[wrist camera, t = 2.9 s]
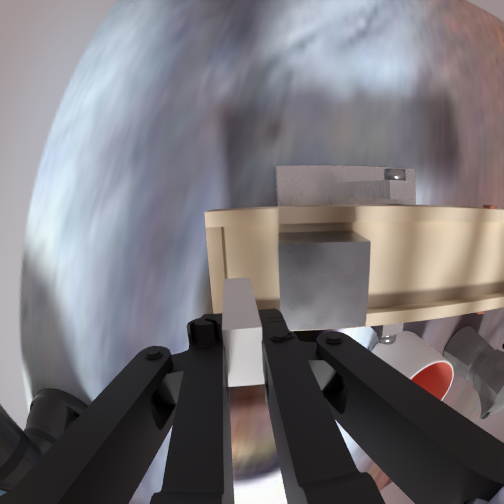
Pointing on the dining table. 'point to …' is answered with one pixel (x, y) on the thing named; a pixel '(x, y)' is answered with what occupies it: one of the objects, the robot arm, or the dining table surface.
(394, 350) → the cup
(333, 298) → the block
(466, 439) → the robot arm
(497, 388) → the coffeepot
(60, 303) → the dining table surface
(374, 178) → the stand
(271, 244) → the beam
